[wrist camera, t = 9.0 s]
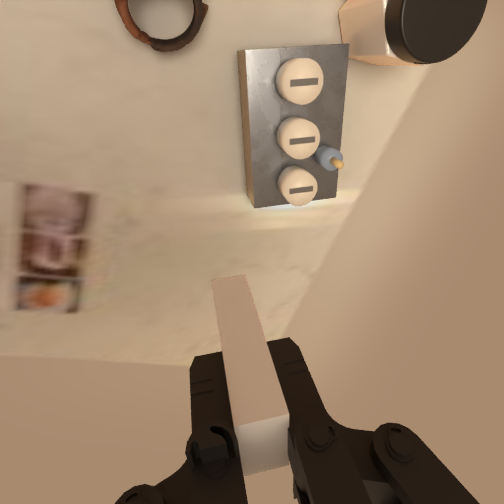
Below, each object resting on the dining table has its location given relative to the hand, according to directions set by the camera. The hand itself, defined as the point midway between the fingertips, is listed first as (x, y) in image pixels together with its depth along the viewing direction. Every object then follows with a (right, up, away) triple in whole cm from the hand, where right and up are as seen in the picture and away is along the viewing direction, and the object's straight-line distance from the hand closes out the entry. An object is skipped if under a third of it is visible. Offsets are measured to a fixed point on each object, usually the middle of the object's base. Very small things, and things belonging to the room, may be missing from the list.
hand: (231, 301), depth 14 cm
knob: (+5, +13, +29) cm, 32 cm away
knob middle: (+5, +18, +26) cm, 32 cm away
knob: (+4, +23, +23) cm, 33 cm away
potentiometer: (+10, +14, +24) cm, 30 cm away
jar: (+15, +29, +23) cm, 40 cm away
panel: (+5, +18, +26) cm, 33 cm away
